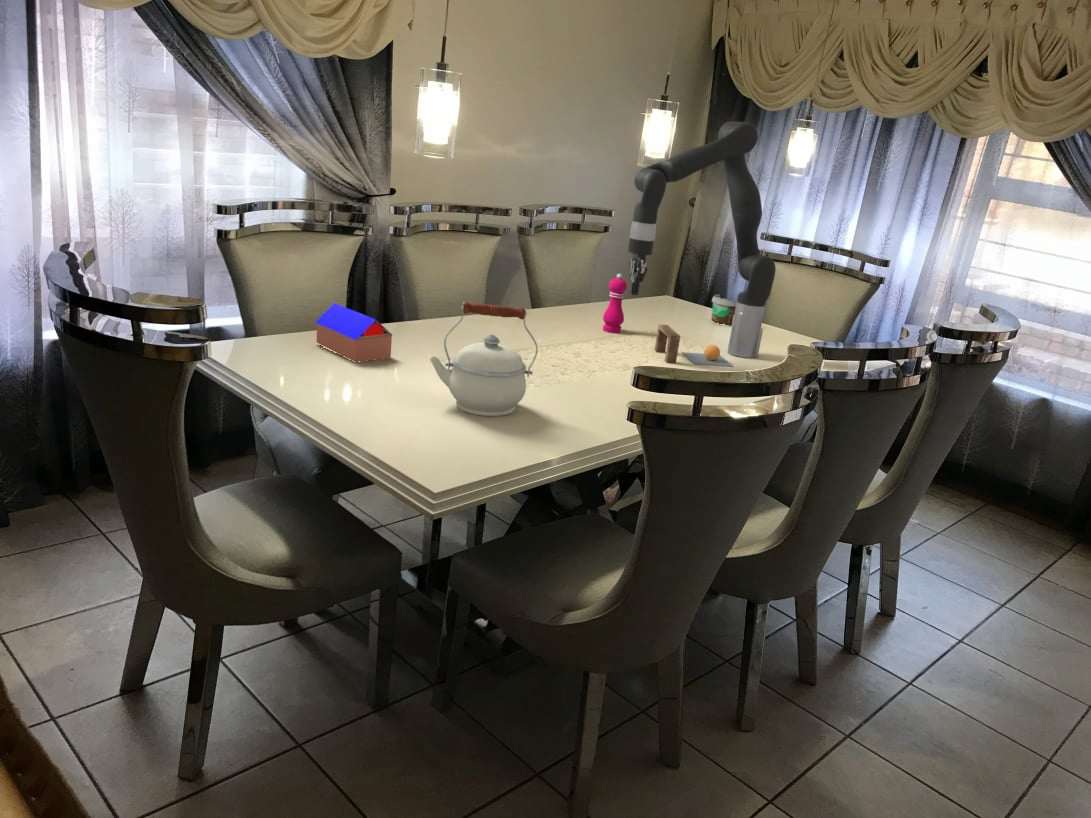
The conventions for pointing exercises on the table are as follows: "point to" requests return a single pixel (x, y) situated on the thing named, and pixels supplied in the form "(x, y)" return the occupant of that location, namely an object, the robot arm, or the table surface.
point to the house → (353, 334)
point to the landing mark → (706, 360)
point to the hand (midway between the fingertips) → (633, 294)
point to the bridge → (672, 345)
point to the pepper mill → (615, 306)
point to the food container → (723, 310)
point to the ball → (712, 352)
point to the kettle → (486, 369)
